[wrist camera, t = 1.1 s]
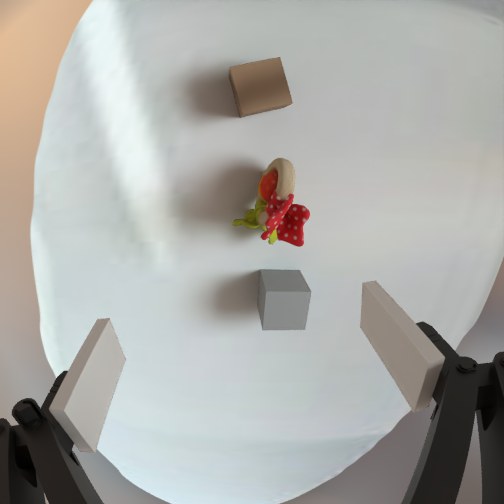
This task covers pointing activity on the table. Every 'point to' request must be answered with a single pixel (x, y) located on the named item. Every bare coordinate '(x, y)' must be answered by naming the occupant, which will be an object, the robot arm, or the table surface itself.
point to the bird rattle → (277, 206)
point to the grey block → (283, 300)
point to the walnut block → (259, 86)
